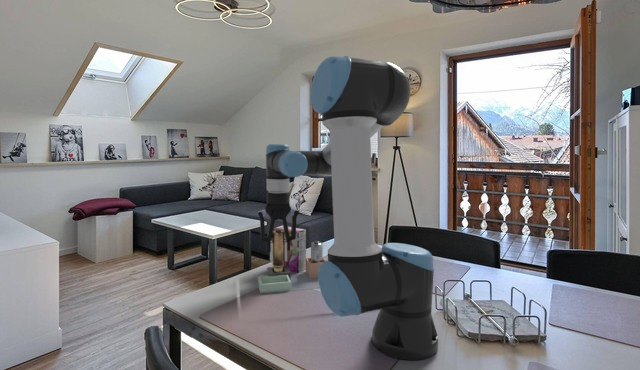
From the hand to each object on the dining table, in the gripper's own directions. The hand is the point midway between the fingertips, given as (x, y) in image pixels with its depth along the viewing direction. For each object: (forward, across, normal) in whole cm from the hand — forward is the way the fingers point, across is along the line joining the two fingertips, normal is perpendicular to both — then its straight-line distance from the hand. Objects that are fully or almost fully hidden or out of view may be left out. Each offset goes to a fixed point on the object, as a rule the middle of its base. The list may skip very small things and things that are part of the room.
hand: (278, 260), depth 125 cm
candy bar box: (+8, -6, -9) cm, 14 cm away
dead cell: (+6, -14, -2) cm, 15 cm away
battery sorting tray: (+7, -5, +3) cm, 9 cm away
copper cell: (+1, 0, 0) cm, 1 cm away
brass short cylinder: (+6, 0, 0) cm, 6 cm away
